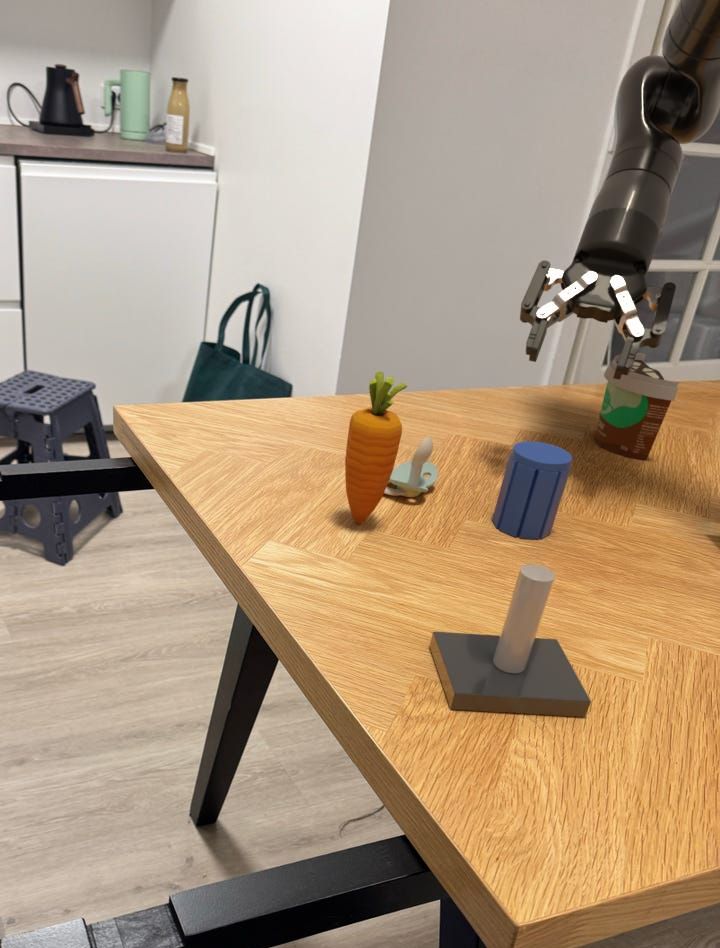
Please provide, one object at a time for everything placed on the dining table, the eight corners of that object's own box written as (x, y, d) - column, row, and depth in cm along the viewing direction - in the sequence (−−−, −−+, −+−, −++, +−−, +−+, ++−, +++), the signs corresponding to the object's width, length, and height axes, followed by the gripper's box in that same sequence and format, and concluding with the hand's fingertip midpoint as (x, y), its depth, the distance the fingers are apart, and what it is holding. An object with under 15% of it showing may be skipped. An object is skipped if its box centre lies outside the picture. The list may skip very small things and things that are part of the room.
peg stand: (551, 654, 71) (588, 549, 66) (585, 717, 64) (628, 607, 59) (429, 646, 70) (455, 540, 65) (450, 709, 64) (481, 597, 59)
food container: (573, 423, 118) (596, 347, 112) (618, 428, 118) (644, 352, 113) (600, 459, 108) (627, 378, 102) (650, 464, 108) (680, 383, 102)
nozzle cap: (539, 515, 93) (561, 443, 88) (556, 541, 88) (580, 465, 84) (487, 512, 92) (506, 439, 88) (501, 537, 88) (522, 461, 83)
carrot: (341, 508, 90) (365, 360, 82) (388, 519, 89) (418, 370, 81) (327, 527, 86) (351, 374, 78) (376, 540, 85) (406, 385, 77)
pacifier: (365, 495, 94) (419, 508, 92) (373, 438, 90) (430, 450, 88) (387, 472, 99) (439, 484, 97) (396, 418, 96) (450, 429, 94)
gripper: (556, 194, 92) (507, 331, 89) (703, 216, 87) (655, 361, 85) (550, 243, 99) (503, 371, 96) (685, 265, 94) (640, 400, 92)
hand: (574, 366), depth 91 cm, fingers open, 8 cm apart
